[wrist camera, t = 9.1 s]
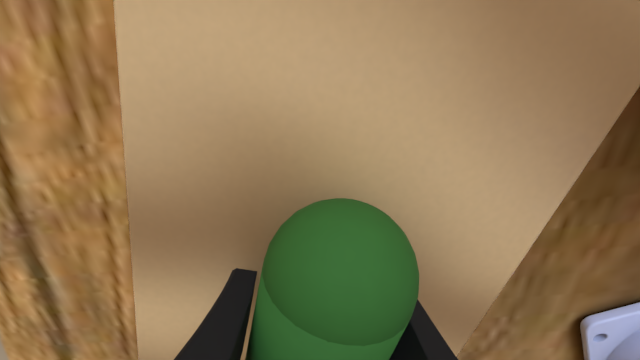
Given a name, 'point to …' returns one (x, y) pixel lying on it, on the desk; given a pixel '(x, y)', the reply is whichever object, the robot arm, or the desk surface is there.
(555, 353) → the desk surface
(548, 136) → the cutting board
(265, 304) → the cucumber
